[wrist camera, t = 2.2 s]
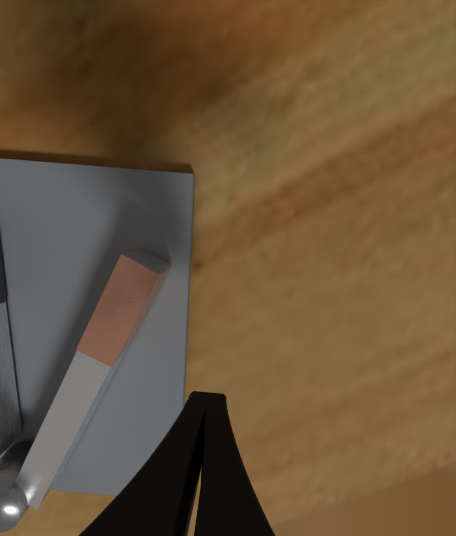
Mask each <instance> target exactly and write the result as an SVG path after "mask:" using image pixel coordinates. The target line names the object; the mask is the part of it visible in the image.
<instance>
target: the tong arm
mask: <svg viewBox="0 0 456 536" xmlns="http://www.w3.org/2000/svg"><path fill="white" fill-rule="evenodd" d="M171 266H172V264H170V263H168V262H166V261H164V260H163V259H161V258H159V257H157V256H155V255H153V254H152V253H150V252H148V251H146V250H144V249H143V248H138V249H135V250H132V251H129V252H126V253H123V254H121V255H120V258H119V260H118V262H117V264H116V266H115V268H114V270H113V272H112V275H111V277H110V279H109V281H108V283H107V285H106V287H105V289H104V292H103V294H102V296H101V298H100V300H99V302H98V304H97V306H96V308H95V311H94V313H93V315H92V317H91V319H90V321H89V323H88V325H87V328H86V330H85V332H84V334H83V336H82V338H81V340H80V342H79V345H78V347H77V349H76V350H77V352H76V354H75V356H74V358H73V360H72V362H71V364H70V367H69V369H68V371H67V373H66V375H65V377H64V379H63V381H62V383H61V386H60V388H59V390H58V392H57V394H56V396H55V398H54V400H53V403H52V405H51V407H50V409H49V411H48V413H47V415H46V417H45V419H44V422H43V424H42V426H41V428H40V430H39V432H38V434H37V436H36V438H35V441H34V442H19V443H16V444H14V445H13V446H11V447H10V448H9V449H8V450H7V451H6V453H5V454H4V455H3V456H2V457H1V458H0V532H4V531H8V530H10V529H12V528H13V527H14V526H15V525H16V524H17V523H18V521H19V520H20V519H21V517H22V516H23V514H24V513H25V512H26V510H27V509H28V507H29V506H31V507H33V508H36V509H38V507H39V506H40V504H41V503H42V501H43V500H44V499H45V497H46V496H47V494H48V493H49V491H50V490H51V488H52V487H53V485H54V484H55V482H56V481H57V479H58V478H59V476H60V475H61V473H62V472H63V470H64V468H65V466H66V465H67V463H68V461H69V459H70V457H71V455H72V453H73V451H74V449H75V447H76V445H77V444H78V442H79V440H80V438H81V436H82V434H83V432H84V430H85V428H86V426H87V425H88V423H89V421H90V419H91V417H92V415H93V413H94V411H95V409H96V407H97V405H98V404H99V402H100V400H101V398H102V396H103V394H104V392H105V390H106V388H107V386H108V385H109V383H110V381H111V379H112V377H113V375H114V373H115V371H116V369H117V367H118V365H119V364H120V362H121V360H122V358H123V356H124V354H125V352H126V350H127V348H128V347H129V345H130V344H131V343H132V341H133V339H134V337H135V335H136V333H137V331H138V329H139V327H140V325H141V324H142V322H143V320H144V318H145V316H146V314H147V312H148V310H149V308H150V306H151V305H152V303H153V301H154V299H155V297H156V295H157V293H158V291H159V289H160V287H161V286H162V284H163V282H164V280H165V278H166V276H167V274H168V272H169V270H170V268H171Z"/></svg>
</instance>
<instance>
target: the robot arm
mask: <svg viewBox="0 0 456 536" xmlns="http://www.w3.org/2000/svg"><path fill="white" fill-rule="evenodd" d="M201 466H202V471H201ZM200 471H201V489H200V496H199V504H198V511H197V518H196V525H195V532H194V536H275V534H274V533H273V531H272V529H271V527H270V525H269V523H268V521H267V518H266V516H265V514H264V512H263V510H262V508H261V506H260V504H259V501H258V499H257V497H256V494H255V492H254V490H253V487H252V485H251V483H250V480H249V478H248V475H247V473H246V470H245V467H244V465H243V462H242V459H241V456H240V453H239V451H238V448H237V444H236V441H235V438H234V434H233V431H232V427H231V424H230V419H229V415H228V410H227V403H226V396H225V395H224V394H219V393H208V392H197V391H193V392H192V393H191V394H190V396H189V398H188V400H187V402H186V404H185V406H184V407H183V409H182V411H181V413H180V414H179V416H178V418H177V419H176V421H175V422H174V424H173V425H172V427H171V428H170V430H169V431H168V433H167V434H166V436H165V437H164V439H163V440H162V441H161V443H160V444H159V445H158V447H157V448H156V449H155V451H154V452H153V453H152V455H151V456H150V457H149V459H148V460H147V461H146V462H145V464H144V465H143V466H142V467H141V469H140V470H139V471H138V472H137V474H136V475H135V476H134V477H133V478H132V479H131V481H130V482H129V483H128V484H127V485H126V486H125V488H124V489H123V490H122V491H121V492H120V493H119V494H118V495H117V496H116V497H115V499H114V500H113V501H112V502H111V503H110V504H109V505H108V506H107V507H106V508H105V509H104V511H103V512H102V513H101V514H100V515H99V516H98V517H97V518H96V519H95V520H94V521H93V522H92V523H91V524H90V525H89V526H88V527H87V528H86V529H85V530H84V531H83V532H82V533H81V534H80V535H79V536H187V534H188V529H189V524H190V520H191V515H192V510H193V505H194V500H195V496H196V491H197V486H198V481H199V476H200Z"/></svg>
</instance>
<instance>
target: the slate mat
mask: <svg viewBox="0 0 456 536" xmlns="http://www.w3.org/2000/svg"><path fill="white" fill-rule="evenodd" d="M194 186H195V175H194V174H190V173H177V172H165V171H152V170H139V169H127V168H114V167H102V166H89V165H77V164H64V163H51V162H39V161H26V160H14V159H1V158H0V248H1V256H2V264H3V272H4V280H5V288H6V296H7V302H6V309H7V317H8V325H9V333H10V341H11V349H12V357H13V365H14V373H15V381H16V389H17V397H18V405H19V413H20V421H21V429H22V434H21V435H20V436H19V437H18V438H17V439H16V440H15V441H14V442H13V443H12V444H11V445H10V446H9V447H8V448H7V449H6V450H5V451H4V452H3V453H2V454H1V455H0V458H1V457H2V456H3V455H4V454H5V453H6V451H7V450H8V449H9V448H10V447H11V446H13V445H14V444H16V443H19V442H34V441H35V438H36V436H37V434H38V432H39V430H40V428H41V426H42V424H43V422H44V419H45V417H46V415H47V413H48V411H49V409H50V407H51V405H52V403H53V400H54V398H55V396H56V394H57V392H58V390H59V388H60V386H61V383H62V381H63V379H64V377H65V375H66V373H67V371H68V369H69V367H70V364H71V362H72V360H73V358H74V356H75V354H76V352H77V350H76V349H77V347H78V345H79V342H80V340H81V338H82V336H83V334H84V332H85V330H86V328H87V325H88V323H89V321H90V319H91V317H92V315H93V313H94V311H95V308H96V306H97V304H98V302H99V300H100V298H101V296H102V294H103V292H104V289H105V287H106V285H107V283H108V281H109V279H110V277H111V275H112V272H113V270H114V268H115V266H116V264H117V262H118V260H119V258H120V255H121V254H123V253H126V252H129V251H132V250H135V249H138V248H143V249H144V250H146V251H148V252H150V253H152V254H153V255H155V256H157V257H159V258H161V259H163V260H164V261H166V262H168V263H170V264H172V266H171V268H170V270H169V272H168V274H167V276H166V278H165V280H164V282H163V284H162V286H161V287H160V289H159V291H158V293H157V295H156V297H155V299H154V301H153V303H152V305H151V306H150V308H149V310H148V312H147V314H146V316H145V318H144V320H143V322H142V324H141V325H140V327H139V329H138V331H137V333H136V335H135V337H134V339H133V341H132V343H131V344H130V345H129V347H128V348H127V350H126V352H125V354H124V356H123V358H122V360H121V362H120V364H119V365H118V367H117V369H116V371H115V373H114V375H113V377H112V379H111V381H110V383H109V385H108V386H107V388H106V390H105V392H104V394H103V396H102V398H101V400H100V402H99V404H98V405H97V407H96V409H95V411H94V413H93V415H92V417H91V419H90V421H89V423H88V425H87V426H86V428H85V430H84V432H83V434H82V436H81V438H80V440H79V442H78V444H77V445H76V447H75V449H74V451H73V453H72V455H71V457H70V459H69V461H68V463H67V465H66V466H65V468H64V470H63V472H62V473H61V475H60V476H59V478H58V479H57V481H56V482H55V484H54V485H53V487H52V488H51V490H58V491H69V492H80V493H91V494H102V495H113V496H117V495H118V494H119V493H120V492H121V491H122V490H123V489H124V488H125V486H126V485H127V484H128V483H129V482H130V481H131V479H132V478H133V477H134V476H135V475H136V474H137V472H138V471H139V470H140V469H141V467H142V466H143V465H144V464H145V462H146V461H147V460H148V459H149V457H150V456H151V455H152V453H153V452H154V451H155V449H156V448H157V447H158V445H159V444H160V443H161V441H162V440H163V439H164V437H165V436H166V434H167V433H168V431H169V430H170V428H171V427H172V425H173V424H174V422H175V421H176V419H177V418H178V416H179V414H180V413H181V411H182V409H183V407H184V399H185V377H186V356H187V335H188V314H189V292H190V271H191V250H192V229H193V207H194Z"/></svg>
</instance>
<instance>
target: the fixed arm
mask: <svg viewBox="0 0 456 536" xmlns="http://www.w3.org/2000/svg"><path fill="white" fill-rule="evenodd" d="M6 302H7V296H6V288H5V280H4V272H3V264H2V256H1V248H0V455H1V454H2V453H3V452H4V451H5V450H6V449H7V448H8V447H9V446H10V445H11V444H12V443H13V442H14V441H15V440H16V439H17V438H18V437H19V436H20V435H21V434H22V429H21V421H20V413H19V405H18V397H17V389H16V381H15V373H14V365H13V357H12V349H11V341H10V333H9V325H8V317H7V309H6Z"/></svg>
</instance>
